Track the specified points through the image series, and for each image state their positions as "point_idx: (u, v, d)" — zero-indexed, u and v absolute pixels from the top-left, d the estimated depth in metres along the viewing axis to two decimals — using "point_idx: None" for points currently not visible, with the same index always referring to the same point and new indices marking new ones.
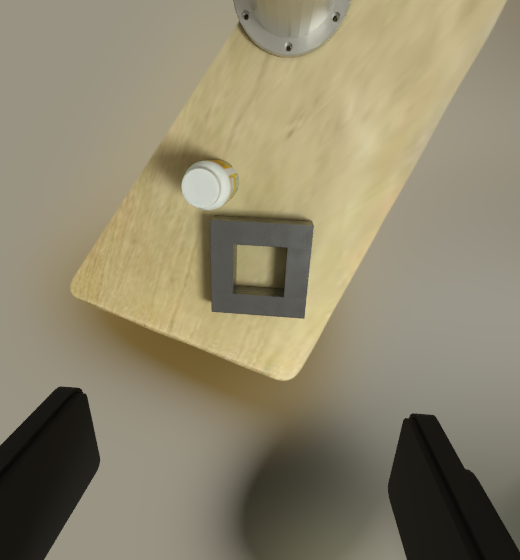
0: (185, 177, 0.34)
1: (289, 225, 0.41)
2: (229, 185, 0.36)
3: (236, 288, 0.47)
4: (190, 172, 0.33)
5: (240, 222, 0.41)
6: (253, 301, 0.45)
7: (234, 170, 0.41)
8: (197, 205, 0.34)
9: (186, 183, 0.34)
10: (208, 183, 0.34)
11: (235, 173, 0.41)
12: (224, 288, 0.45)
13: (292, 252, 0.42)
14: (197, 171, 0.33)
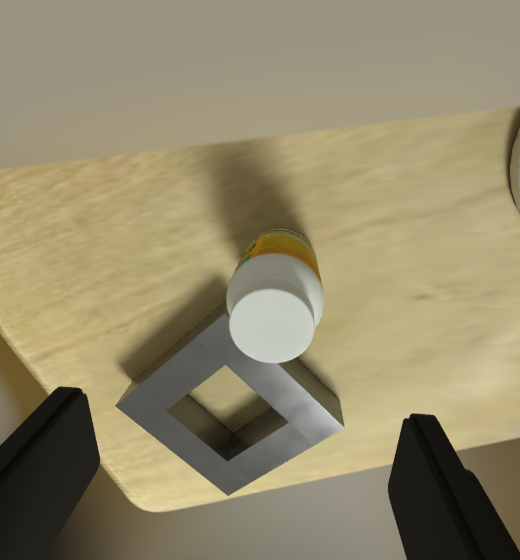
0: (265, 292, 0.15)
1: (317, 404, 0.25)
2: None
3: None
4: (282, 294, 0.15)
5: None
6: (183, 437, 0.27)
7: None
8: (240, 344, 0.16)
9: (256, 302, 0.15)
10: (292, 334, 0.15)
11: None
12: (160, 397, 0.26)
13: (288, 431, 0.26)
14: (295, 303, 0.15)
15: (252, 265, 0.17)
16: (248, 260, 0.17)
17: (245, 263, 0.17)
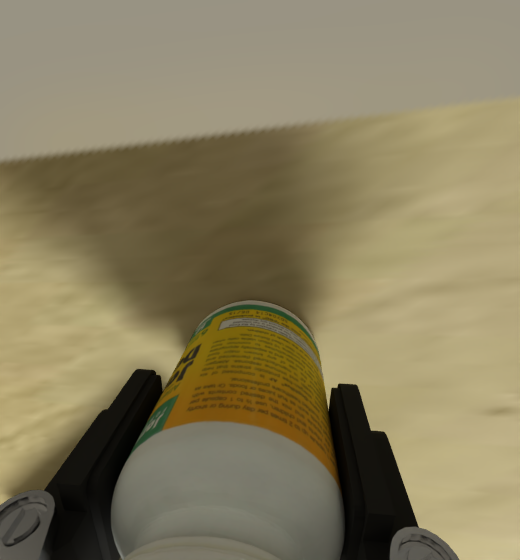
0: None
1: None
2: None
3: None
4: None
5: None
6: None
7: None
8: None
9: None
10: None
11: None
12: None
13: None
14: None
15: (162, 464, 0.06)
16: (159, 434, 0.07)
17: (150, 444, 0.07)
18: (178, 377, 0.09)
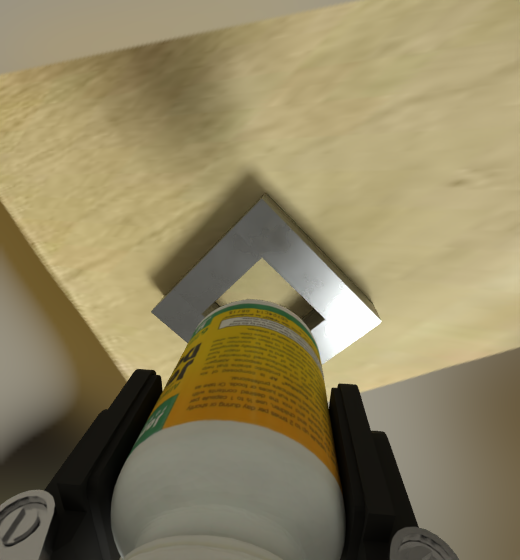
0: None
1: (355, 297, 0.25)
2: None
3: None
4: None
5: (298, 239, 0.23)
6: None
7: None
8: None
9: None
10: None
11: None
12: (195, 299, 0.26)
13: (325, 330, 0.26)
14: None
15: (162, 463, 0.06)
16: (159, 433, 0.07)
17: (150, 443, 0.07)
18: (178, 376, 0.09)
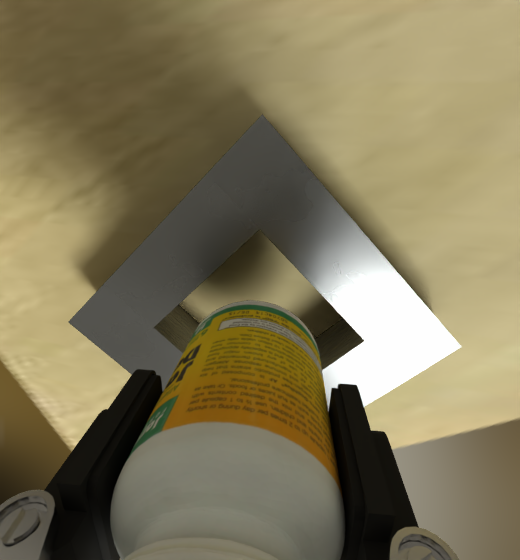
0: None
1: (419, 303, 0.14)
2: None
3: (170, 312, 0.17)
4: None
5: (327, 195, 0.13)
6: None
7: None
8: None
9: None
10: None
11: None
12: (143, 301, 0.15)
13: (362, 358, 0.15)
14: None
15: (162, 465, 0.06)
16: (158, 435, 0.07)
17: (149, 445, 0.07)
18: (178, 377, 0.09)
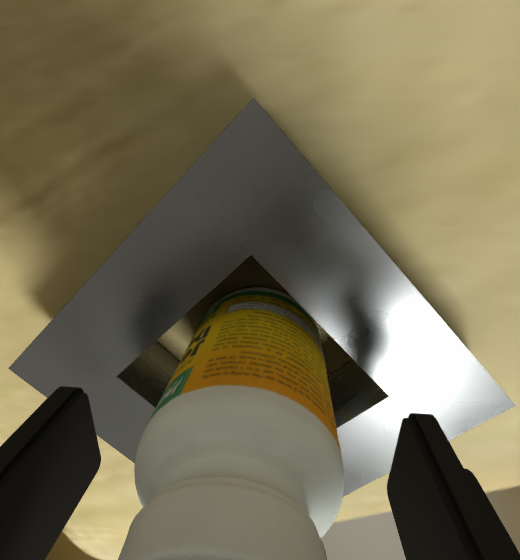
0: None
1: (464, 351, 0.11)
2: None
3: None
4: None
5: (344, 210, 0.09)
6: None
7: None
8: None
9: None
10: None
11: None
12: (102, 345, 0.12)
13: (385, 417, 0.12)
14: None
15: (182, 420, 0.07)
16: (178, 397, 0.08)
17: (170, 406, 0.08)
18: (191, 353, 0.10)
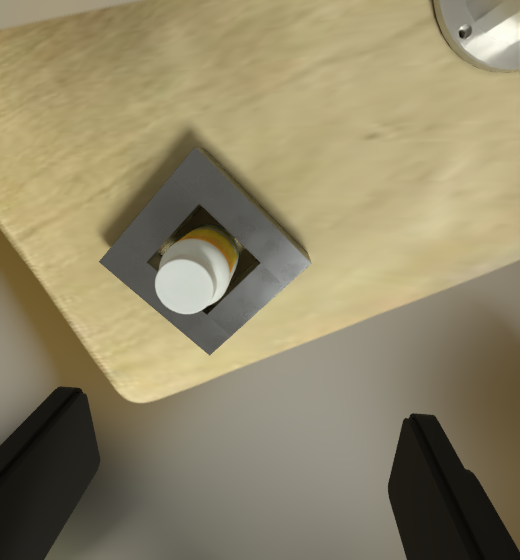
0: (176, 262, 0.21)
1: (285, 239, 0.27)
2: (221, 296, 0.25)
3: (156, 257, 0.30)
4: (187, 262, 0.21)
5: (231, 184, 0.26)
6: None
7: (237, 261, 0.30)
8: (164, 301, 0.22)
9: (171, 269, 0.22)
10: (199, 291, 0.22)
11: (236, 266, 0.30)
12: (140, 247, 0.28)
13: (261, 273, 0.28)
14: (197, 268, 0.21)
15: (174, 247, 0.24)
16: None
17: (170, 246, 0.24)
18: None
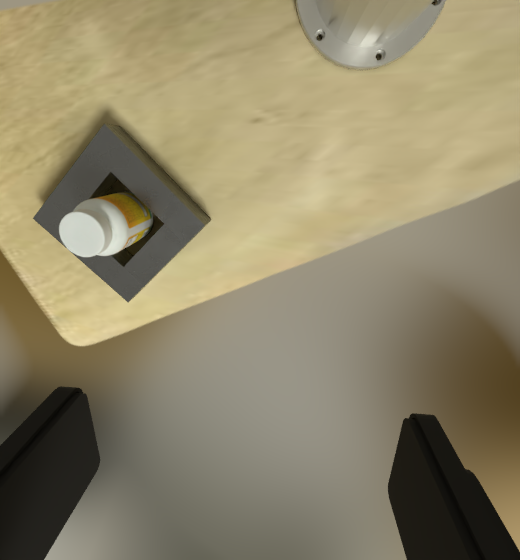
0: (74, 214, 0.27)
1: (182, 204, 0.33)
2: (121, 247, 0.31)
3: None
4: (82, 214, 0.27)
5: (135, 156, 0.32)
6: None
7: (150, 223, 0.36)
8: (67, 246, 0.28)
9: (70, 219, 0.27)
10: (93, 238, 0.28)
11: (148, 227, 0.35)
12: (66, 207, 0.34)
13: (165, 233, 0.34)
14: (90, 220, 0.27)
15: (80, 204, 0.29)
16: (81, 202, 0.30)
17: None
18: None
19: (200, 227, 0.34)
